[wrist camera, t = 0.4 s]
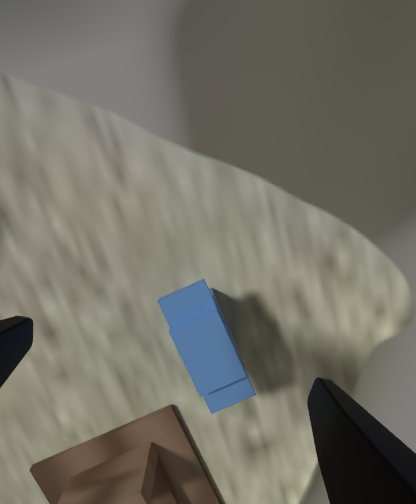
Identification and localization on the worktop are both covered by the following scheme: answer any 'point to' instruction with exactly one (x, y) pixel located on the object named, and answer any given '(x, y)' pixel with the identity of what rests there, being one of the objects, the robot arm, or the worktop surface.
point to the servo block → (206, 345)
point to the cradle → (129, 467)
